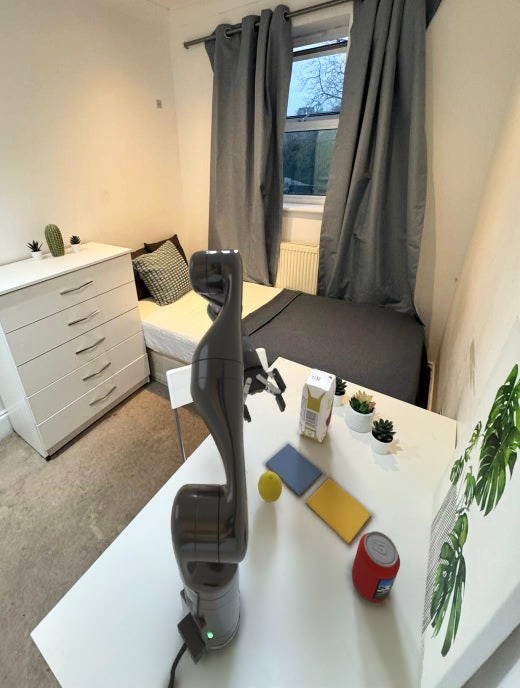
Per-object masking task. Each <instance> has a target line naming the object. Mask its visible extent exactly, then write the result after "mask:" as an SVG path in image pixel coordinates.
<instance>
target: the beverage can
mask: <svg viewBox="0 0 520 688" xmlns="http://www.w3.org/2000/svg"><path fill="white" fill-rule="evenodd" d="M400 567H401V557H400V554H399V551H398V549H397V546H396V545H395V543H394V541H393V540H392V538H390V537H389V536H388V535H386V534H384V533H383V532H380V531H376V530H373V531H370V532H366V533H364V534H363V535H362V536H361V537H360V539H359V542H358V545H357V549H356V552H355V556H354V560H353V563H352V568H351V579H352V581H353V582H352V583H353V585H354V587H355V588H356V590H357V591H358V593H359V595H361V596H362V597H363V598H364V599H366V600H368V601H369V602H372V603H377V604H380V603H383V602H385V601H386V600H387V599H388V597H389V595H390V593H391V591H392V589H393V586H394V583H395V581H396V578H397V576H398V573H399V570H400Z"/></svg>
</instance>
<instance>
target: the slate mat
mask: <svg viewBox="0 0 520 688" xmlns="http://www.w3.org/2000/svg"><path fill="white" fill-rule="evenodd" d="M265 465H266V467H268V468H269V469H270V471H272V472H274V473H276V474H277V475H278V476H279V478H280V480H281V481H282V482H283V483H284V484H285V485H287V487H289V489H291V491H293V492H294V493H295V494H296V495H297V497H300V496H301V495H302V494H303V493H304V492H306V490H307V489H308V488H310V486H311V485H312V484H313V483H314V482H315V481H316V480H317V479H318V478H320V476H321V475H322V474H323V471H321V470H320V469H319V468H318V467H317V466H316V465H314V464H313V463H312V462H311V461H310V460H308V459H307V458H306V457H305V456H304V455H302V453H300V452H299V451H298V450H297V449H296V448H294V447H293V446H292V445H291V444H290V443H287V444H286V445H285V446H284V447H282V448H281V449H280V450H279V451H278V452H276V453H275V454H274V455H272V457H271V458H270V459H268V460H267V461H266V462H265Z"/></svg>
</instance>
